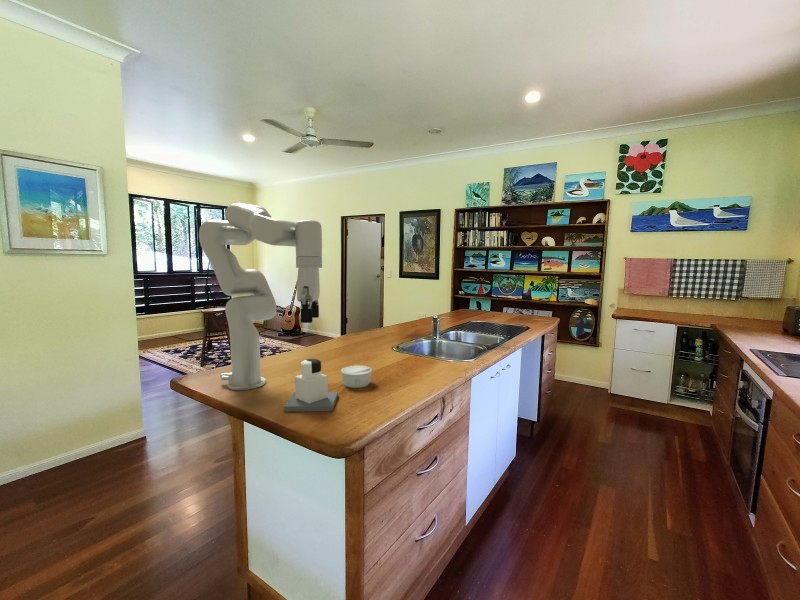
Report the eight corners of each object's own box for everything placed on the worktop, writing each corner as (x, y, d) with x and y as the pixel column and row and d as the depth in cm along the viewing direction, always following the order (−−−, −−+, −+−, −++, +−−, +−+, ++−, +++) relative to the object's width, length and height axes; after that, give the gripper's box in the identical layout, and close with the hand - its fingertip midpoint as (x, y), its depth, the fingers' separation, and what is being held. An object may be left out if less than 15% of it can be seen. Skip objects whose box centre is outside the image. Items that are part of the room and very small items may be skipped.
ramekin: (367, 390, 122) (366, 375, 121) (336, 388, 124) (335, 373, 124) (375, 380, 133) (375, 366, 132) (347, 378, 135) (347, 364, 134)
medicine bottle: (314, 392, 115) (313, 356, 114) (328, 397, 111) (327, 359, 109) (295, 398, 110) (294, 360, 109) (308, 404, 105) (307, 364, 104)
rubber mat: (284, 411, 104) (283, 406, 104) (294, 396, 116) (294, 391, 116) (332, 410, 104) (332, 406, 104) (338, 395, 116) (338, 391, 116)
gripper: (303, 263, 114) (304, 315, 116) (288, 262, 97) (289, 324, 99) (326, 263, 115) (327, 315, 116) (316, 263, 97) (317, 324, 99)
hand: (310, 319), depth 108 cm, fingers open, 9 cm apart
